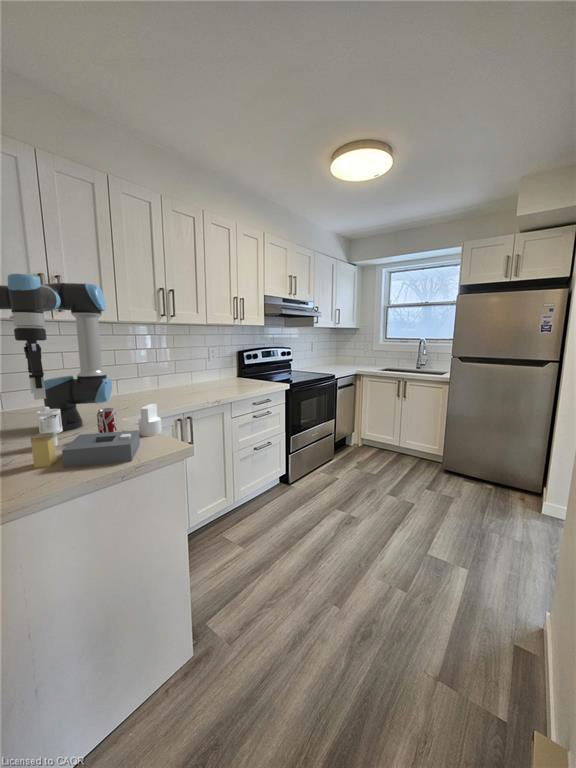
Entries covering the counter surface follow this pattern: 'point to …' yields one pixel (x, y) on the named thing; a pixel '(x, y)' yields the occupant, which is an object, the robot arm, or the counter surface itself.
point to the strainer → (50, 422)
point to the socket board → (101, 448)
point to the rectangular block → (43, 450)
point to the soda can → (107, 420)
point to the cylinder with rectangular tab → (149, 421)
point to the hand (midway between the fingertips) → (38, 395)
